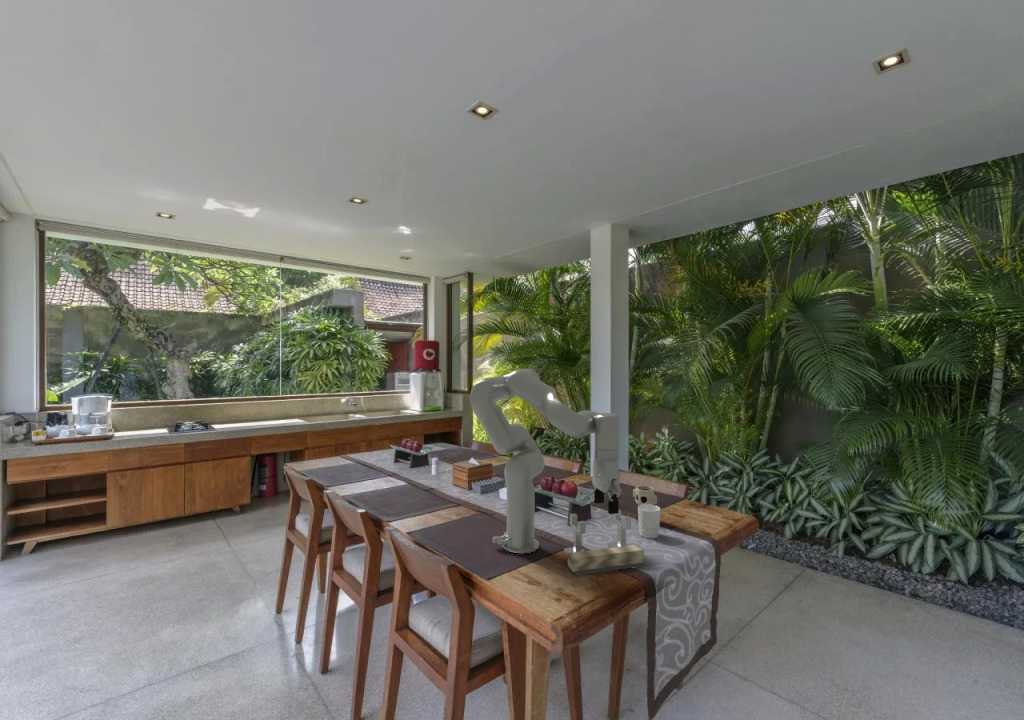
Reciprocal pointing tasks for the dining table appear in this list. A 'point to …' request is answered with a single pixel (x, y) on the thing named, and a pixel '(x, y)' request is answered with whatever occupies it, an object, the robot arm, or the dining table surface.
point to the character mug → (644, 495)
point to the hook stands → (581, 529)
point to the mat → (607, 569)
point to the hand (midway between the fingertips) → (606, 507)
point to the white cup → (649, 520)
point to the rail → (605, 557)
